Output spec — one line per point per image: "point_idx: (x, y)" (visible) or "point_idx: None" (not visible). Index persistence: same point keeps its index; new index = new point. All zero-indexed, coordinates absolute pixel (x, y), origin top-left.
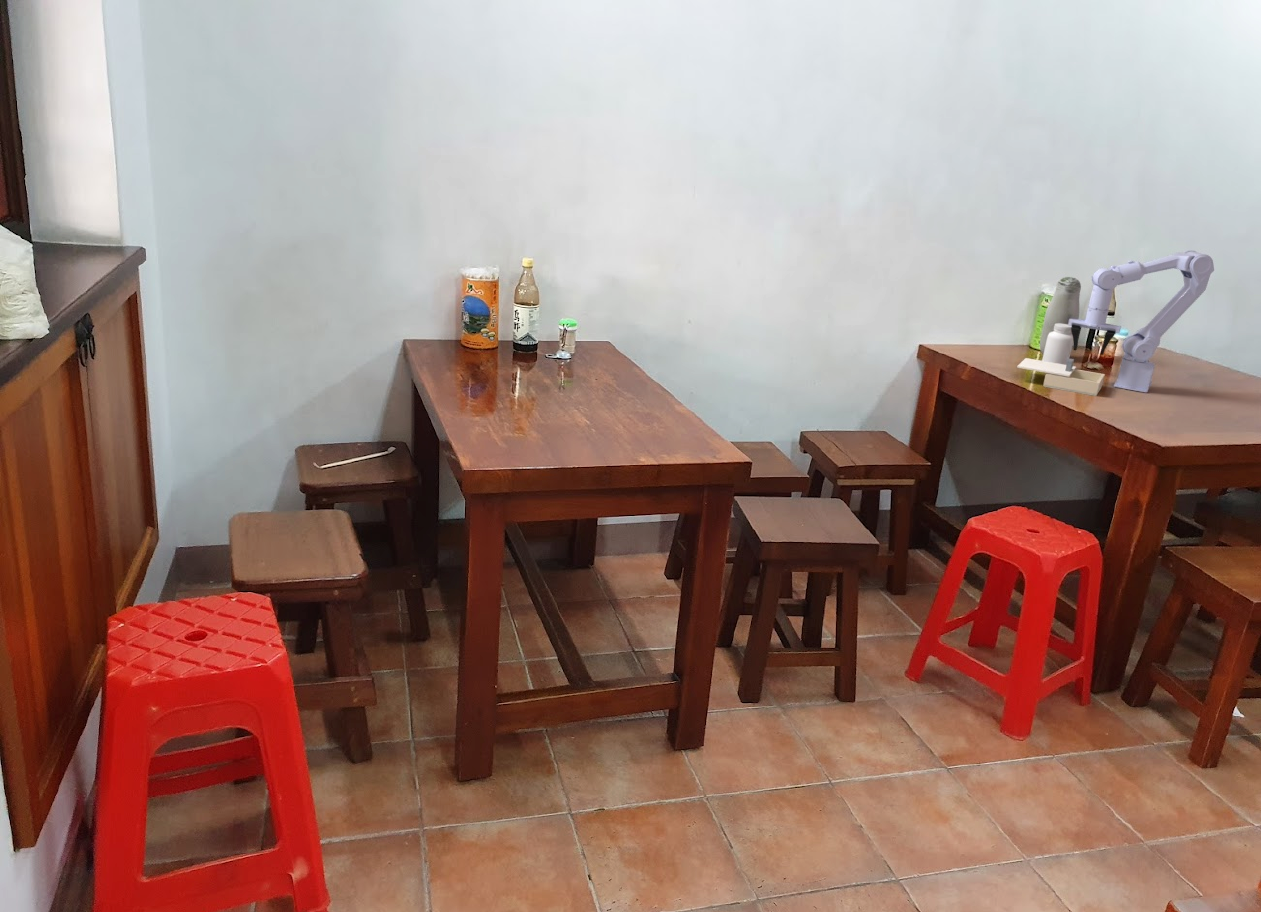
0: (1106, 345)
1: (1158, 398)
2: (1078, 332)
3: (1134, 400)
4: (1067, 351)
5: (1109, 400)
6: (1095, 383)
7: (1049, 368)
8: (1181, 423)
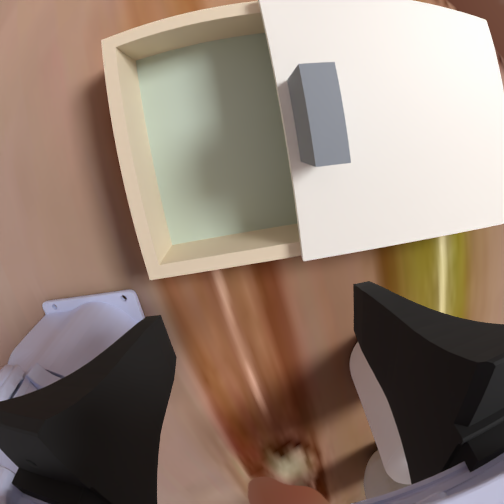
0: (94, 358)
1: (4, 263)
2: (455, 354)
3: (21, 150)
4: (386, 400)
5: (75, 49)
6: (119, 35)
7: (396, 67)
8: None
